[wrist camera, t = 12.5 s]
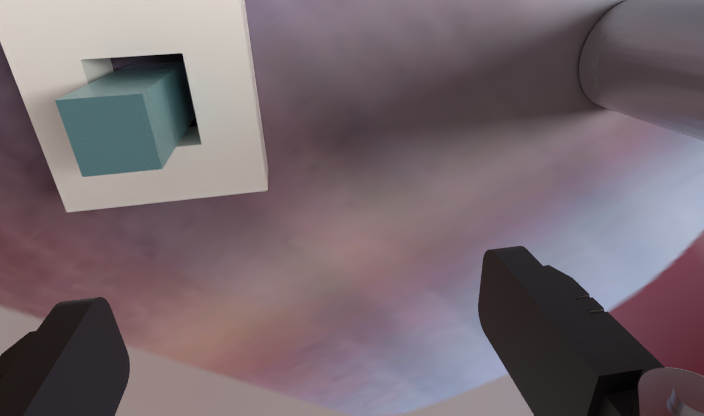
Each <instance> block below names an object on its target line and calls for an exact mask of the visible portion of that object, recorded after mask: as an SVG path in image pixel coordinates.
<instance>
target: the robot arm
mask: <svg viewBox="0 0 704 416" xmlns="http://www.w3.org/2000/svg"><path fill="white" fill-rule="evenodd" d="M579 77H580V83H581V86H582V89H583V91H584V93H585V94H586V96H587V97H588V98H589V99H590V100H591V101H592V102H593V103H595V104H597V105H599V106H602V107H604V108H607V109H610V110H613V111H616V112H619V113H622V114H625V115H628V116H631V117H634V118H637V119H640V120H643V121H646V122H649V123H652V124H655V125H658V126H661V127H664V128H667V129H670V130H673V131H676V132H679V133H682V134H685V135H688V136H691V137H694V138H697V139H700V140H703V141H704V0H626V1H624V2H622V3H620V4H618V5H616V6H615V7H614V8H612V9H611V10H610V11H609V12H607V13H606V14H605V15H604V16H603V17H602V18H601V19H600V20H599V21H598V23H597V24H596V25H595V27H594V28H593V30H592V31H591V33H590V34H589V36H588V38H587V40H586V42H585V44H584V47H583V50H582V53H581V57H580V64H579ZM478 312H479V319H480V323H481V326H482V329H483V331H484V333H485V335H486V336H487V338H488V340H489V341H490V343H491V345H492V346H493V348H494V350H495V351H496V353H497V355H498V356H499V358H500V360H501V361H502V363H503V364H504V366H505V368H506V369H507V371H508V373H509V374H510V376H511V378H512V379H513V381H514V383H515V384H516V386H517V388H518V389H519V391H520V392H521V394H522V396H523V397H524V399H525V401H526V402H527V404H528V406H529V407H530V409H531V410H532V412H533V414H534V416H704V377H703V376H701V375H698V374H696V373H693V372H689V371H686V370H681V369H676V368H665V367H664V366H663V365H662V364H661V363H660V362H659V361H658V360H657V359H656V358H655V357H654V356H653V355H652V354H651V353H650V352H649V351H648V350H647V349H645V348H644V347H643V346H642V345H641V344H640V343H639V342H638V341H637V340H636V339H635V338H634V337H633V336H632V335H631V334H630V333H629V332H628V331H627V330H626V329H625V328H624V327H623V326H622V325H621V324H620V323H619V322H617V321H616V320H615V319H614V318H613V317H612V316H611V315H610V314H609V313H608V312H604V308H603V307H602V306H601V305H600V304H599V303H598V302H597V301H596V300H595V299H594V298H590V297H589V294H588V293H587V292H586V291H585V290H584V289H583V288H582V287H581V286H580V285H579V284H578V283H577V282H576V281H575V280H574V279H573V278H571V277H570V276H568V275H566V274H564V273H562V272H560V271H559V270H557V269H555V268H553V267H551V266H549V265H547V266H542V265H541V264H540V262H539V261H538V260H537V259H536V258H535V257H534V256H533V255H532V254H531V253H530V252H529V251H528V250H527V249H526V248H525V247H523V246H516V247H508V248H500V249H492V250H487V251H486V252H485V254H484V258H483V265H482V275H481V284H480V293H479V302H478ZM129 371H130V363H129V356H128V353H127V349H126V347H125V344H124V341H123V339H122V336H121V334H120V331H119V328H118V326H117V323H116V321H115V318H114V315H113V313H112V310H111V307H110V305H109V303H108V302H107V300H106V299H104V298H103V297H97V298H89V299H81V300H73V301H65V302H60V303H58V304H57V305H55V307H54V308H53V309H52V310H51V312H50V313H49V314H48V316H47V317H46V319H45V320H44V321H43V323H42V324H41V325H40V327H39V328H38V330H37V331H33V332H29V333H28V334H27V335H25V336H24V337H23V338H22V339H20V340H19V341H18V342H16V343H15V344H14V345H13V346H12V347H10V348H9V349H8V350H6V351H5V352H4V353H2V355H1V356H0V416H115V413H116V411H117V408H118V406H119V403H120V401H121V398H122V396H123V393H124V391H125V388H126V386H127V383H128V379H129Z"/></svg>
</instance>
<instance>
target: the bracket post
mask: <svg viewBox="0 0 704 416" xmlns="http://www.w3.org/2000/svg"><path fill="white" fill-rule="evenodd" d="M55 102H56V105H57V107H58V110H59V113H60V116H61V119H62V121H63V124H64V127H65V130H66V133H67V135H68V138H69V141H70V144H71V147H72V149H73V152H74V155H75V158H76V161H77V163H78V166H79V169H80V172H81V175H82V177H89V176H99V175H109V174H119V173H129V172H139V171H149V170H159V169H163V167H164V165H165V164H166V162H167V161H168V159H169V157H170V156H171V154H172V153H173V151H174V149H175V148H176V146H177V145H178V143H179V141H180V140H181V138H182V137H183V135H184V134H185V132H186V130H187V129H188V127H189V126H190V124H191V122H192V121H193V119H194V118H195V116H196V115H195V110H194V106H193V101H192V96H191V91H190V87H189V82H188V77H187V73H186V68H185V63H184V61H179V62H164V63H149V64H135V65H127V66H125V67H123V68H121V69H119V70H117V71H115V72H113V73H111V74H108V75H106V76H104V77H102V78H100V79H98V80H96V81H94V82H92V83H90V84H88V85H86V86H84V87H81V88H79V89H77V90H75V91H73V92H71V93H69V94H67V95H65V96H63V97H61V98H59V99H57V100H55Z"/></svg>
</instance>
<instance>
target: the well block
mask: <svg viewBox="0 0 704 416" xmlns="http://www.w3.org/2000/svg"><path fill="white" fill-rule="evenodd" d="M0 42H1V45H2V47H3V50H4V53H5V55H6V58H7V60H8V63H9V65H10V68H11V70H12V73H13V76H14V78H15V81H16V83H17V86H18V88H19V91H20V94H21V96H22V99H23V101H24V104H25V106H26V109H27V112H28V114H29V117H30V119H31V122H32V124H33V127H34V130H35V132H36V135H37V137H38V140H39V142H40V145H41V147H42V150H43V153H44V155H45V158H46V160H47V163H48V165H49V168H50V171H51V173H52V176H53V178H54V181H55V183H56V186H57V189H58V191H59V194H60V196H61V199H62V201H63V204H64V207H65V209H66V212H76V211H85V210H95V209H104V208H113V207H122V206H131V205H141V204H150V203H159V202H168V201H178V200H187V199H196V198H205V197H214V196H224V195H233V194H242V193H251V192H261V191H268V163H267V156H266V149H265V142H264V135H263V128H262V121H261V114H260V107H259V100H258V93H257V86H256V79H255V72H254V65H253V58H252V50H251V43H250V36H249V29H248V22H247V15H246V8H245V1H244V0H0ZM177 53H182V54H183V58H184V63H185V68H186V73H187V77H188V82H189V87H190V91H191V96H192V101H193V106H194V110H195V115H196V120H197V125H198V126H197V127H188V129H187V130H186V132H185V134H184V135H183V137H182V138H181V140H180V141H179V143H178V145H177V146H176V148H175V149H174V151H173V153H172V154H171V156H170V157H169V159H168V161H167V162H166V164H165V165H164V167H163V169H159V170H149V171H139V172H129V173H119V174H109V175H99V176H89V177H82V175H81V172H80V169H79V166H78V163H77V161H76V158H75V155H74V152H73V149H72V147H71V144H70V141H69V138H68V135H67V133H66V130H65V127H64V124H63V121H62V119H61V116H60V113H59V110H58V107H57V105H56V102H55V100H57V99H59V98H61V97H63V96H65V95H67V94H69V93H71V92H73V91H75V90H77V89H79V88H81V87H84V86H86V85H88V84H90V83H92V82H94V81H96V80H98V79H100V78H102V77H104V76H106V75H108V74H111V73H113V72H114V70H113V66H112V63H111V59H110V58H115V57H131V56H146V55H162V54H177Z"/></svg>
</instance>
